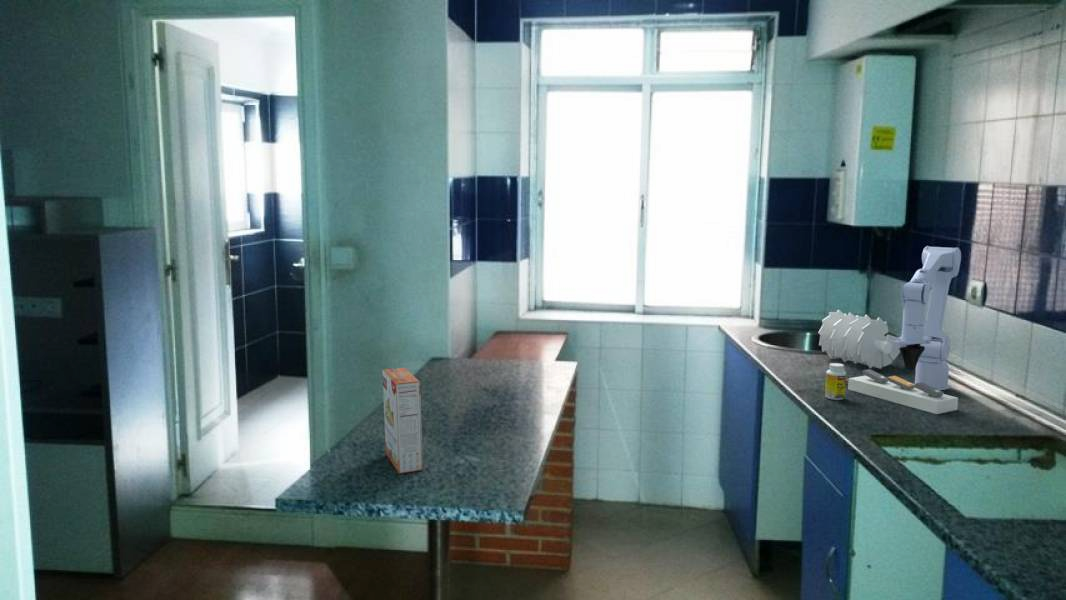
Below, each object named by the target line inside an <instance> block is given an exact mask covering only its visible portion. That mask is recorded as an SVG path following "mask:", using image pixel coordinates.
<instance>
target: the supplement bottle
mask: <svg viewBox="0 0 1066 600" xmlns="http://www.w3.org/2000/svg"><path fill="white" fill-rule="evenodd" d="M828 368H829V369H827V370H826V372H825V389H824V390H825V392H824V397H825V398H826V399H829V400H832V401H841V400H844V399H845V397H846V385H847V383H846V379H847V372H846V371H845V364H843V363H835V362H832V363H829V367H828Z"/></svg>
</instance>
